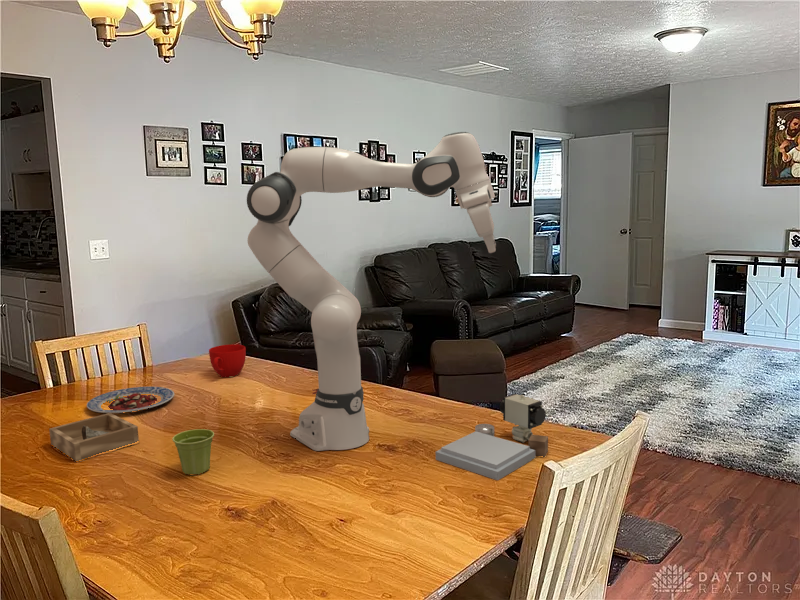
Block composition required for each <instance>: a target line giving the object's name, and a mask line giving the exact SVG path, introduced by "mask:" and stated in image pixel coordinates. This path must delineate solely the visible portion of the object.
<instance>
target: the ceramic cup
mask: <svg viewBox="0 0 800 600" xmlns="http://www.w3.org/2000/svg"><path fill="white" fill-rule="evenodd" d="M246 351H247V349H246V346H245V345H242V344H235V343H233V344H221V345H217V346H213V347H211V348H209V349H208V354H209V360H210V361H209V362H210V364H211V367H212V369H213V370H214V371H215V373H216V374H217V375H218V376H219V377H220V376H222V377H221V378H230V377H229V376H234V377H236V376H235V375H237V376H238V375H239V374H240V373H241V372H242V370H243V368H244V365H245V363H246V357H247V355H246V354H247V353H246Z"/></svg>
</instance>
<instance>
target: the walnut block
mask: <svg viewBox="0 0 800 600" xmlns="http://www.w3.org/2000/svg"><path fill="white" fill-rule="evenodd" d="M528 446H530V449H533V450H535V457H537V456H543V457H542V458H544V457H545V456H547V454H548V453H549V452H548V451H549V436H547V435H542V434H541V435H540V434H533V435H531V437H530V439H529V440H528ZM545 458H546V457H545Z"/></svg>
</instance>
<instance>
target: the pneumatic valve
mask: <svg viewBox="0 0 800 600" xmlns="http://www.w3.org/2000/svg"><path fill="white" fill-rule="evenodd" d="M499 412H501V414H502V418H503V419H502V420H503V421H504V422H508V423H511V424H514V426H513V427H512V429H511V433H512V439H513V440H515V441H517V442H521V443H522V444H523V443H526V442H528V441H529V439H530V437H531V435H534V434H533V431H532V430H533V429H534V428H536V427H540V426H542V425H543V423H544V422H545V420H546V416H547V415H546V414H547V413H546V409H545V408H543V401H542V400H537V399H534V398H533V397H529V396H525V395H524V394H517V393H513V394H510V395H506V396H504V397H503V398H502V400H501V402H500V404H499Z"/></svg>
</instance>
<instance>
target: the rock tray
mask: <svg viewBox="0 0 800 600" xmlns="http://www.w3.org/2000/svg"><path fill="white" fill-rule="evenodd" d="M83 426H86V427H89V428H90V429H91V430H94V431H104V432H110V433H106V434H103V435H99V436H96V437H92V438H89V439H85V440H83V437H82V432H81V431H82V427H83ZM48 430H49V438H50V440H49V441H50V446H51V445H53V446H54V447H56V448H57V449H59V450H60V451H62V452H63V453H65V454H66V455H68V456H69V457H71V458H72V459H73V460H75V461H79V460H82V459H85V458H88V457H91V456H93V455H96V454H99V453H102V452H106V451H109V450H113V449H116V448H119V447H122V446H125V445H128V444H132V443H135V442H137V441H139V442H140V439H139V426H137V425H136V424H134V423H131V422H129V421H128V420H126V419H123V418H121V417H120V416H118V415H115V414H114V413H103V414H101V415H97V416H91V417H89V418H85V419H81V420H78V421H73V422H69V423H65V424H61V425H58V426H54V427H51V428H49V429H48ZM54 447H53V448H54ZM57 449H56V450H57ZM60 451H59V452H60ZM63 453H62V454H63ZM66 455H65V456H66ZM69 457H68V458H69ZM72 459H71V460H72ZM73 460H72V461H73ZM75 461H74V462H75Z"/></svg>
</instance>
